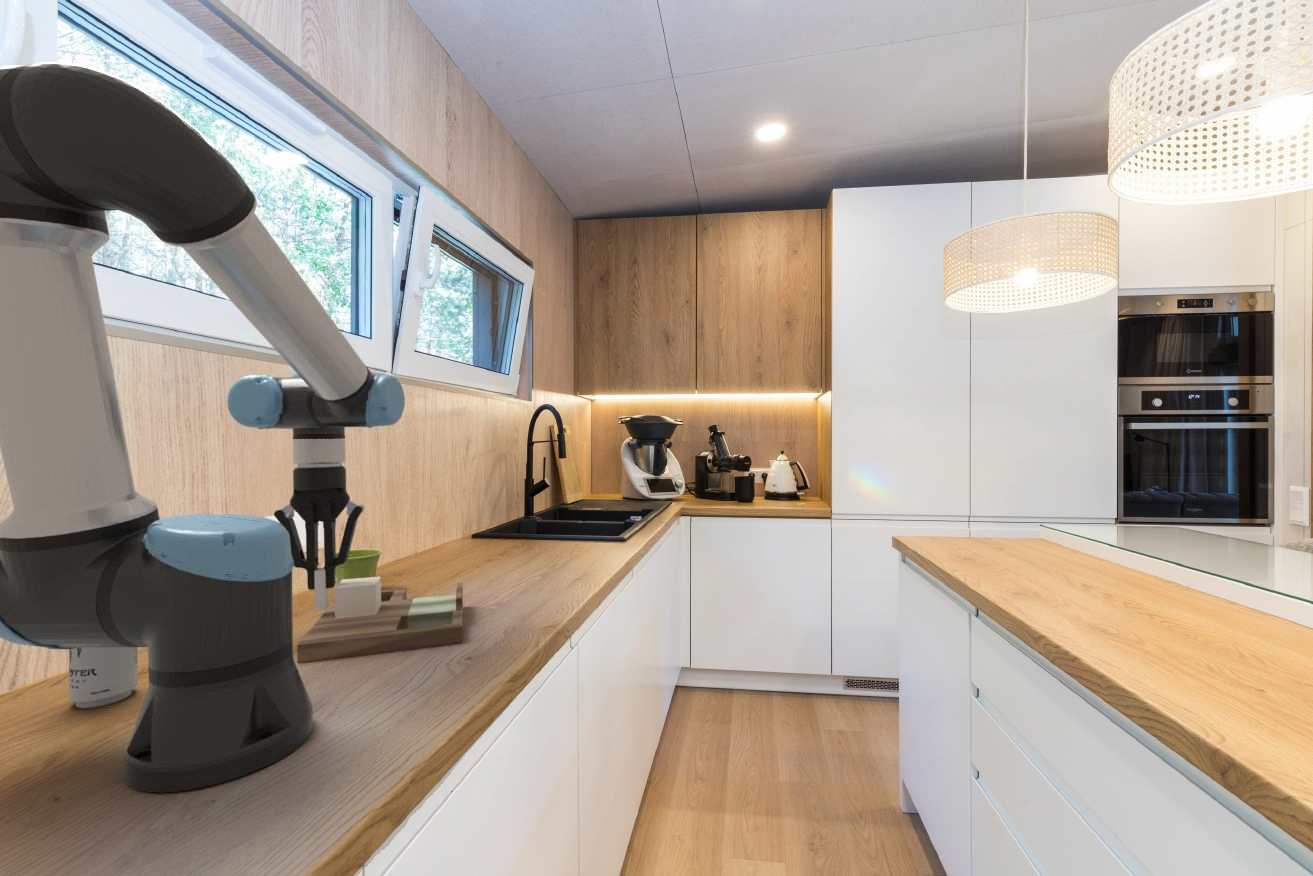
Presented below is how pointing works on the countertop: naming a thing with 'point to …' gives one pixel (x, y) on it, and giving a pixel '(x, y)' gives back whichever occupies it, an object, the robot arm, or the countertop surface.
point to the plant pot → (358, 564)
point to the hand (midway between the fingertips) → (322, 608)
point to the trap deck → (386, 627)
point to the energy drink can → (101, 675)
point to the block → (357, 597)
